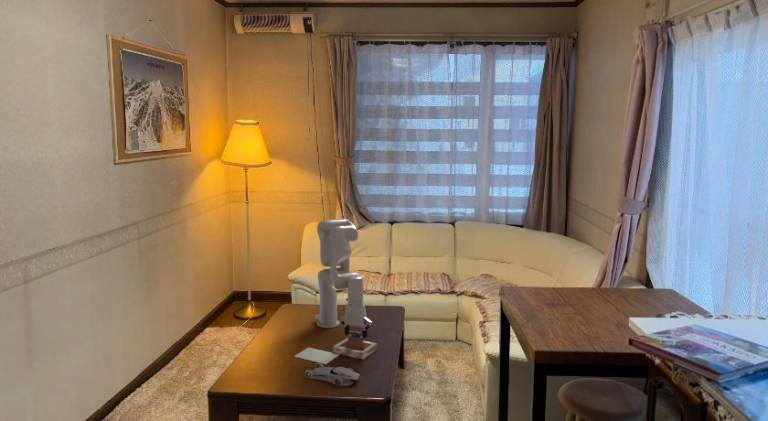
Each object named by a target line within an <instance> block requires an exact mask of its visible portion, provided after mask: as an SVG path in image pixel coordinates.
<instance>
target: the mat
mask: <svg viewBox="0 0 768 421" xmlns="http://www.w3.org/2000/svg"><path fill="white" fill-rule="evenodd" d="M340 355H341V354H336V353H333V352H330V351H327V350H322V349H317V348H312V347H307V348H305V349H304V350H302V351H300V352H299V353H297V354H296V355H294V356H293V357H294V358H297V359H302V360H304V361H305V360H306V361H308V362H309V361H310V362H314V363H316V364H317V363H319V362H320V363H322V364H323V365H327V364H329V363H331V362H332V361H333V360H335V359H336V358H338V357H339V356H340Z"/></svg>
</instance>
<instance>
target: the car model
mask: <svg viewBox="0 0 768 421" xmlns="http://www.w3.org/2000/svg"><path fill="white" fill-rule="evenodd" d="M304 377H305V378H306V379H314V380H319V381H324V382H327V383H331V384H333V385H335V386H341V387H345V386H346V387H348V386H351V385H353V384H354V381H357V380H358V379H359V377H360V373H358V372H356V371H354V369H353V368H351V367H347V368H346V367H343V366H337V367H335V366H333V367H332V366H324V364H322V363H320V362H319V363H317V362H316V363H315V366H314V369H313V370H311V369H306V370H305V372H304Z"/></svg>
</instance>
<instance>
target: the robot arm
mask: <svg viewBox="0 0 768 421" xmlns="http://www.w3.org/2000/svg"><path fill="white" fill-rule="evenodd" d="M316 230H317V231H316V232H317V235H318V238H319V241H320V243H319V244H320V245H319V246H320V248H319V249H320V250H319V251H320V256H319V257H320V264H321V266H322V267H327V268H324V269H321V270H319V272H317V283H318V288H319V314H315V315H314V320H317V322H316V325H317V327H320V328H323V329H333V328H336V327H337V328H338V327H339V326H340V323H341V324H342V325H343V327H344V335H345V336H348V335H350V334H349V331H351V330H350V326H351V327H357V328H361V329H362V332H361V336H362V338H363V340H364V339H366V338H367V337H368V330H369V328H370V327H371V326H372V323H373V322H372V321H371V320H370V319H369V318H367V311H366V306H365V304H364V278H363V277H362V276H361V275H360V274H359V272H353V271H352V272H350V262H351V261H350V257H351V256H352V249H351V246H350V243H351V242H356V241H357V240H358V239H359V232H358V229H357V227H356V226H355V224H354V223H353V222H351V220H349V219H345V218H342V219H325V220H321V221H319V222H318V223H317V226H316ZM328 267H330V268H328ZM345 289H347V297H346V298H345V301H346V302H347V303H346V305H345V310H344V315H342V316H340V317H339V319H340V320H339V319H338V293H337V291H336V290H345Z"/></svg>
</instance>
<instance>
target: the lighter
mask: <svg viewBox="0 0 768 421" xmlns="http://www.w3.org/2000/svg"><path fill="white" fill-rule="evenodd" d="M347 338H348V346H347V348H349V349H354V350H359V351H363V350H364V348H363V341H364V339H363V338H362V332H360V331H357V330H355V331H353V330H350V331H349V334H348V335H347Z"/></svg>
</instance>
